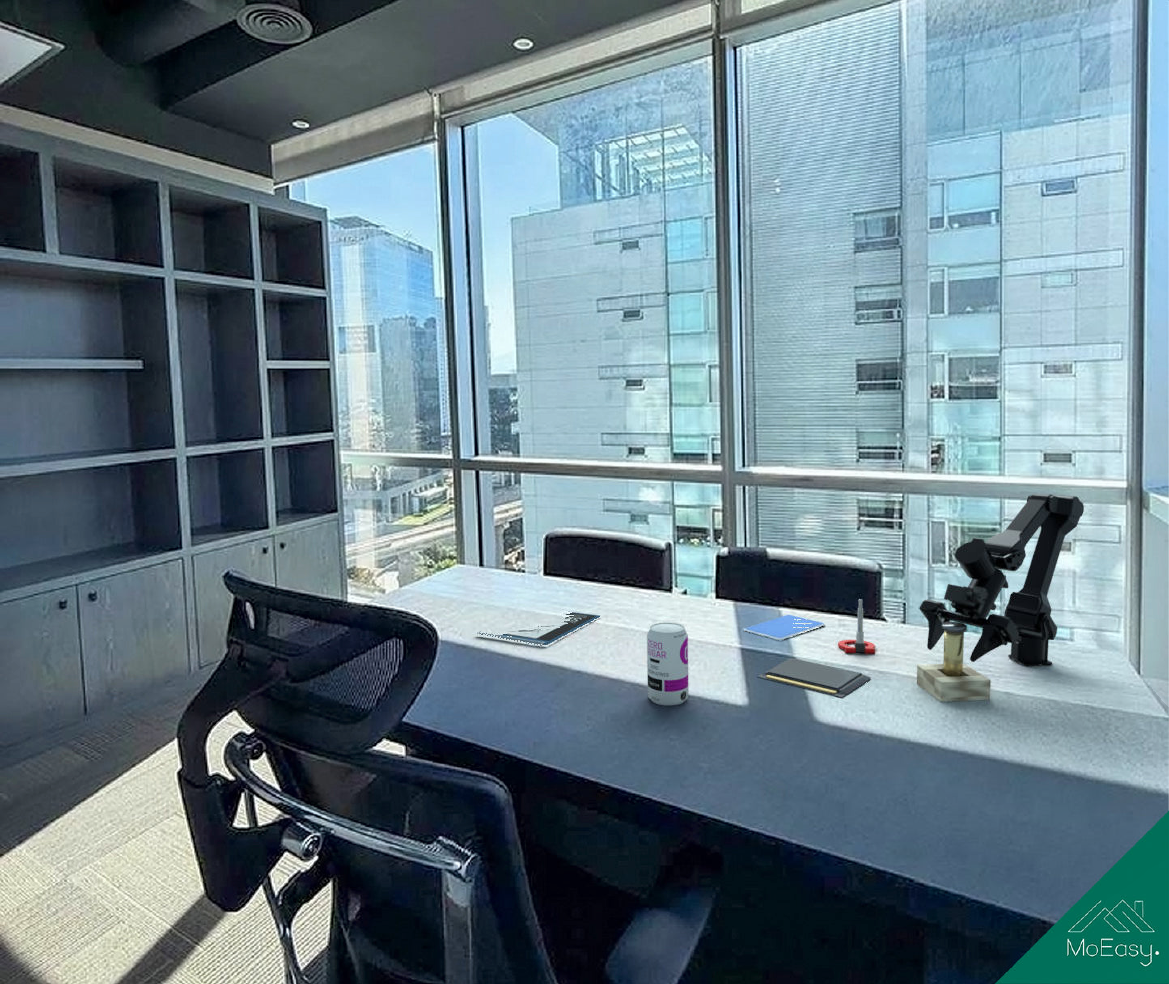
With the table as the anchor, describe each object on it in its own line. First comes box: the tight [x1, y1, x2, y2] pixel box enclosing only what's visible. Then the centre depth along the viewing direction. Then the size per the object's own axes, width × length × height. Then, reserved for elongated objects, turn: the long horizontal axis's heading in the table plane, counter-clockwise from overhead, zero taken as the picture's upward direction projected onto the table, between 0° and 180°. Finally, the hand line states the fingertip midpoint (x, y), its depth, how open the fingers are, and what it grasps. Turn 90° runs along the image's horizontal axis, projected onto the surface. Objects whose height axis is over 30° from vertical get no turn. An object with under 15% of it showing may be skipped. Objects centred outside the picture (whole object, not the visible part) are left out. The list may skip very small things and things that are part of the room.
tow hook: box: [837, 598, 876, 655], centre depth 188 cm, size 8×13×9 cm
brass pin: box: [942, 621, 968, 677], centre depth 160 cm, size 5×5×13 cm
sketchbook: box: [476, 611, 601, 646], centre depth 212 cm, size 22×30×2 cm
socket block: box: [916, 662, 992, 703], centre depth 160 cm, size 10×10×4 cm
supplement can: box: [646, 622, 689, 707], centre depth 159 cm, size 8×8×15 cm
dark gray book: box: [757, 657, 872, 699], centre depth 170 cm, size 20×2×15 cm
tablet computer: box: [742, 614, 826, 641], centre depth 206 cm, size 19×13×1 cm, turn 128°
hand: (949, 654), depth 159 cm, fingers open, 9 cm apart
